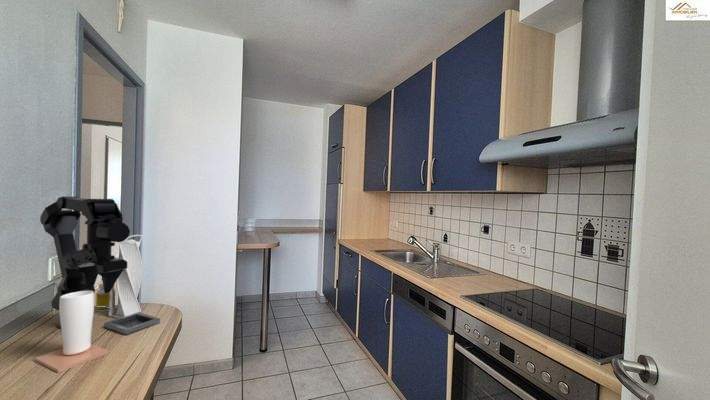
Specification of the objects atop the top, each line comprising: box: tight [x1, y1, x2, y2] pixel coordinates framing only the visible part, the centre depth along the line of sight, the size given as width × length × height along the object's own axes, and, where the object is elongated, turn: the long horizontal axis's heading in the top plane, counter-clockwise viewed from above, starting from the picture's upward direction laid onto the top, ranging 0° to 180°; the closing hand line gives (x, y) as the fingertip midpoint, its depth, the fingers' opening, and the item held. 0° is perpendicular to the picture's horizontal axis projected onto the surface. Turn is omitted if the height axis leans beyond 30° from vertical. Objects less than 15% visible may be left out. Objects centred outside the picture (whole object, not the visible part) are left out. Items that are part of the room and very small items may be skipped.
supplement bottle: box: [95, 282, 116, 312], centre depth 109 cm, size 5×5×10 cm
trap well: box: [103, 312, 161, 336], centre depth 96 cm, size 12×10×2 cm
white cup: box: [58, 291, 95, 355], centre depth 78 cm, size 7×7×15 cm
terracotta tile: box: [34, 343, 109, 374], centre depth 77 cm, size 12×10×1 cm
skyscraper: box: [106, 234, 144, 319], centre depth 105 cm, size 8×8×28 cm
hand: (98, 291), depth 90 cm, fingers open, 9 cm apart
